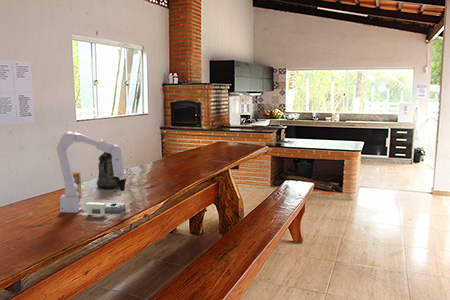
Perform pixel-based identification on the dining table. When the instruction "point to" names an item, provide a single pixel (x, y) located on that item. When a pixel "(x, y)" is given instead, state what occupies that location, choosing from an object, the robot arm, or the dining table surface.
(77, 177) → the candy box
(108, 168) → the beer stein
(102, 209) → the notched cream block
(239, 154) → the dining table surface
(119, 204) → the grey block with holes
